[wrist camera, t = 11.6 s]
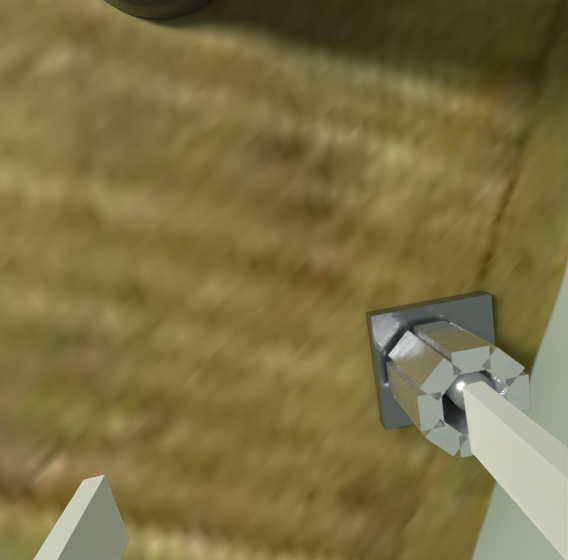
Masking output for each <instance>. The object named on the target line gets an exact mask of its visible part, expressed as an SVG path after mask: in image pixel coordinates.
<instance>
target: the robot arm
mask: <svg viewBox="0 0 568 560" xmlns="http://www.w3.org/2000/svg"><path fill="white" fill-rule="evenodd" d="M104 1H106V2H107V3H109V4H110V5H112V6H114V7H116V8H117V9H119V10H122V11H124V12H126V13H129V14H132V15H135V16H139V17H143V18H150V19H169V18H175V17H180V16H183V15H186V14H189V13H192V12H194V11H196V10H198V9H200V8H201V7H203V6H205V5H206V4H207V3H209V2H210V1H211V0H104ZM462 389H463V396H464V403H465V410H466V417H467V424H468V431H469V439H470V446H471V452H472V453H473V454H474V455H475V456H476V457H477V459H478V460H479V461H480V462H481V463H482V464H483V465H484V467H485V468H486V469H487V470H488V471H489V472H490V474H491V475H492V476H493V477H494V478H495V479H496V480H497V482H498V483H499V484H500V485H501V486H502V487H503V488H504V490H505V491H506V492H507V493H508V494H509V495H510V497H511V498H512V499H513V500H514V501H515V502H516V503H517V504H518V505H519V507H520V508H521V509H522V510H523V511H524V513H525V514H526V515H527V516H528V517H529V518H530V520H531V521H532V522H533V523H534V524H535V525H536V526H537V528H538V529H539V530H540V531H541V532H542V533H543V534H544V536H545V537H546V538H547V539H548V540H549V541H550V542H551V544H552V545H553V546H554V547H555V548H556V549H557V551H558V552H559V553H560V554H561V555H562V556H563V557H564V558H565V560H568V447H566V446H565V445H564V444H563V443H561V442H560V441H559V440H558V439H556V438H555V437H554V436H552V435H551V434H550V433H548V432H547V431H546V430H545V429H544V428H542V427H541V426H540V425H538V424H537V423H536V422H535V421H533V420H532V419H531V418H529V417H528V416H527V415H525V414H524V413H523V412H522V411H520V410H519V409H518V408H517V407H515V406H514V405H513V404H511V403H510V402H509V401H508V400H506V399H505V398H504V397H502V396H501V395H500V394H499V393H497V392H496V391H495V390H494V389H492V388H491V387H490V386H488V385H487V384H486V383H485V382H483V381H480V382H476V383H472V384H468V385H464V386H462ZM128 539H129V537H128V535H127V532H126V529H125V527H124V524H123V521H122V519H121V516H120V513H119V511H118V508H117V505H116V503H115V500H114V497H113V495H112V492H111V489H110V487H109V484H108V481H107V479H106V476H105V475H101V476H97V477H93V478H89V479H85V480H83V482H82V483H81V485H80V486H79V488H78V490H77V491H76V493H75V494H74V496H73V498H72V499H71V501H70V502H69V504H68V506H67V507H66V509H65V510H64V512H63V514H62V515H61V517H60V518H59V520H58V522H57V523H56V525H55V526H54V528H53V530H52V531H51V533H50V534H49V536H48V537H47V539H46V541H45V542H44V544H43V545H42V547H41V549H40V550H39V552H38V553H37V555H36V557H35V558H34V560H121V557H122V555H123V552H124V550H125V547H126V544H127V542H128Z"/></svg>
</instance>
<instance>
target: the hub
mask: <svg viewBox="0 0 568 560" xmlns="http://www.w3.org/2000/svg"><path fill="white" fill-rule="evenodd" d="M414 334H415V335H414ZM414 334H412V333H411V332H410V331H408V330H407V331H406V333H405V334H404V335H403V337H402V338H401V339H400V341H399V342H398V343H397V345H396V346H395V347H394V348H393V350H392V351H391V352H390V354H389V356H390V358H391V359H392V360H393V361H388V362H387V370H388V378H389V386H390V391H391V393H392V394H393V395H394V397H395V399H396V400H397V401H398V403H399V404H400V405H401V407H402V408H403V409H404V411H405V412H406V413H407V415H408V416H409V417H410V418H411V420H412V421H413V422H414V424H415V425H416V426H417V428H418V429H419V430H420V432H421V433H422V434H423V435H424V437H425V438H426V439H428V440H429V441H431V442H432V443H434V444H436V445H437V446H439V447H440V448H442V449H443V450H445V451H446V452H448V453H449V454H451V455H452V456H454V455H455V454H456V452H457V453H458V454H459V456H460V457H466V456H471V455H474V454H473V453H472V452H471V446H470V439H469V431H468V424H467V417H466V412H465V411H463V410H461V409H460V408H459V407H458V406H457V405H456V404H455V403H454V402H453V401H452V400H451V399H449V398H448V397H447V396H446V395H445V394H444V393H445V392H446V390H447V389H448V388H449V387H450V385H451V384H452V383H453V382H454V380H455V379H456V378H457V377H458V375H461V374H466V373H471V372H476V371H479V372H481V373H482V374H484V375H485V376H486V377H488V378H489V379H490V380H491V381H492V383H493V385H494V389H495V391H496V392H497V393H499V394H500V395H501V396H502V397H504V398H505V399H506V400H508V401H509V402H510V403H511V404H513V405H514V406H515V407H517V408H518V409H519V410H520V411H525V410H530V391H529V374H527V373H525V372H523V370H524V368H525V367H523V366H522V365H521V364H519V363H518V362H517V361H515V360H514V359H513V358H511V357H510V356H508V355H507V354H506V353H504V352H503V351H502V350H500V349H499V348H498V347H496V346H494V345H492V344H490V343H489V342H487V341H485V340H483V339H481V338H479V337H478V336H476V335H474V334H472V333H470V332H468V331H467V330H465V329H463V328H461V327H459V326H458V325H456V324H454V323H452V322H450V323H448V322H446V321H439V322H434V323H428V324H423V325H418V326H414Z"/></svg>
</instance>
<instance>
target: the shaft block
mask: <svg viewBox="0 0 568 560" xmlns="http://www.w3.org/2000/svg"><path fill="white" fill-rule="evenodd" d="M366 317H367V324H368V331H369V339H370V346H371V353H372V361H373V368H374V375H375V383H376V390H377V398H378V405H379V412H380V420H381V423H382V425H383V426H384V428H385V430H387V429H392V428H397V427H402V426H407V425H412V424H414V422H413V421H412V420H411V418H410V417H409V416H408V415H407V413H406V412H405V411H404V409H403V408H402V407H401V405H400V404H399V403H398V401H397V400H396V399H395V397H394V395H393V394H392V393H391V391H390V386H389V378H388V370H387V362H388V361H393V360H392V359H391V358H390V356H389V354H390V352H391V351H392V350H393V348H394V347H395V346H396V345H397V343H398V342H399V341H400V339H401V338H402V337H403V335H404V334H405V333H406V331H407V330H408V331H410V332H411V333H412V334H414V326H418V325H423V324H428V323H434V322H439V321H446V322H448V323H450V322H452V323H454V324H456V325H458V326H459V327H461V328H463V329H465V330H467V331H468V332H470V333H472V334H474V335H476V336H478V337H479V338H481V339H483V340H485V341H487V342H489V343H490V344H492V345H494V346H495V337H494V323H493V310H492V296H491V294H490V293H488V292H485V291H478V292H473V293H467V294H462V295H457V296H451V297H446V298H441V299H435V300H430V301H425V302H419V303H414V304H409V305H403V306H398V307H393V308H387V309H382V310H377V311H371V312H366ZM414 335H415V334H414ZM480 381H483V382H485V383H486V384H487V385H488V386H490V387H491V388H492V389H494V385H493V383H492V381H491V380H490V379H489V378H488V377H486V376H485V375H484V374H482V373H481V372H479V371H476V372H471V373H466V374H461V375H458V377H457V378H456V379H455V380H454V382H453V383H452V384H451V385H450V387H449V388H448V389H447V390H446V392H445V393H444V394H445V395H446V396H447V397H448V398H449V399H451V400H452V401H453V402H454V403H455V404H456V405H457V406H458V407H459V408H460V409H461V410H463V411H465V412H466V410H465V403H464V396H463V389H462V386H464V385H468V384H472V383H476V382H480ZM494 390H495V389H494Z"/></svg>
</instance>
